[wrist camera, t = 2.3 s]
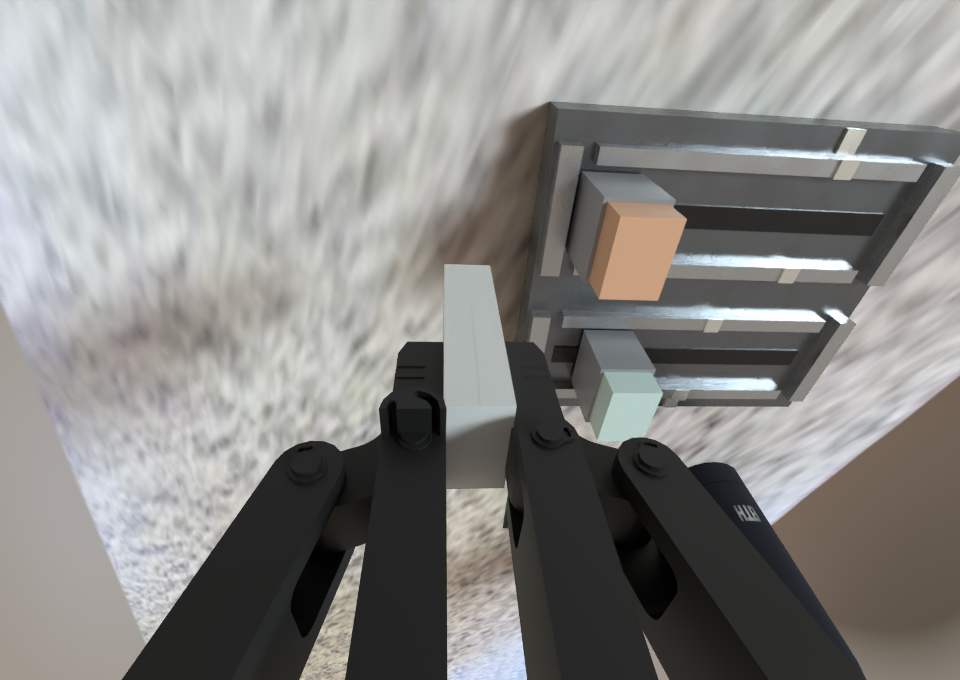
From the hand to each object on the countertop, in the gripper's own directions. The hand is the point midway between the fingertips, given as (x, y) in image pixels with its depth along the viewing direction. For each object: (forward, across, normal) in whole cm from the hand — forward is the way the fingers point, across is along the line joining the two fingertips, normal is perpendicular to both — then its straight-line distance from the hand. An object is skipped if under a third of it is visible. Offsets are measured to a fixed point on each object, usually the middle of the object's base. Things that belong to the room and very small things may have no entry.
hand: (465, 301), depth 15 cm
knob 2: (+8, +9, -8) cm, 15 cm away
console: (+10, +14, -4) cm, 18 cm away
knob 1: (+8, +7, 0) cm, 11 cm away
